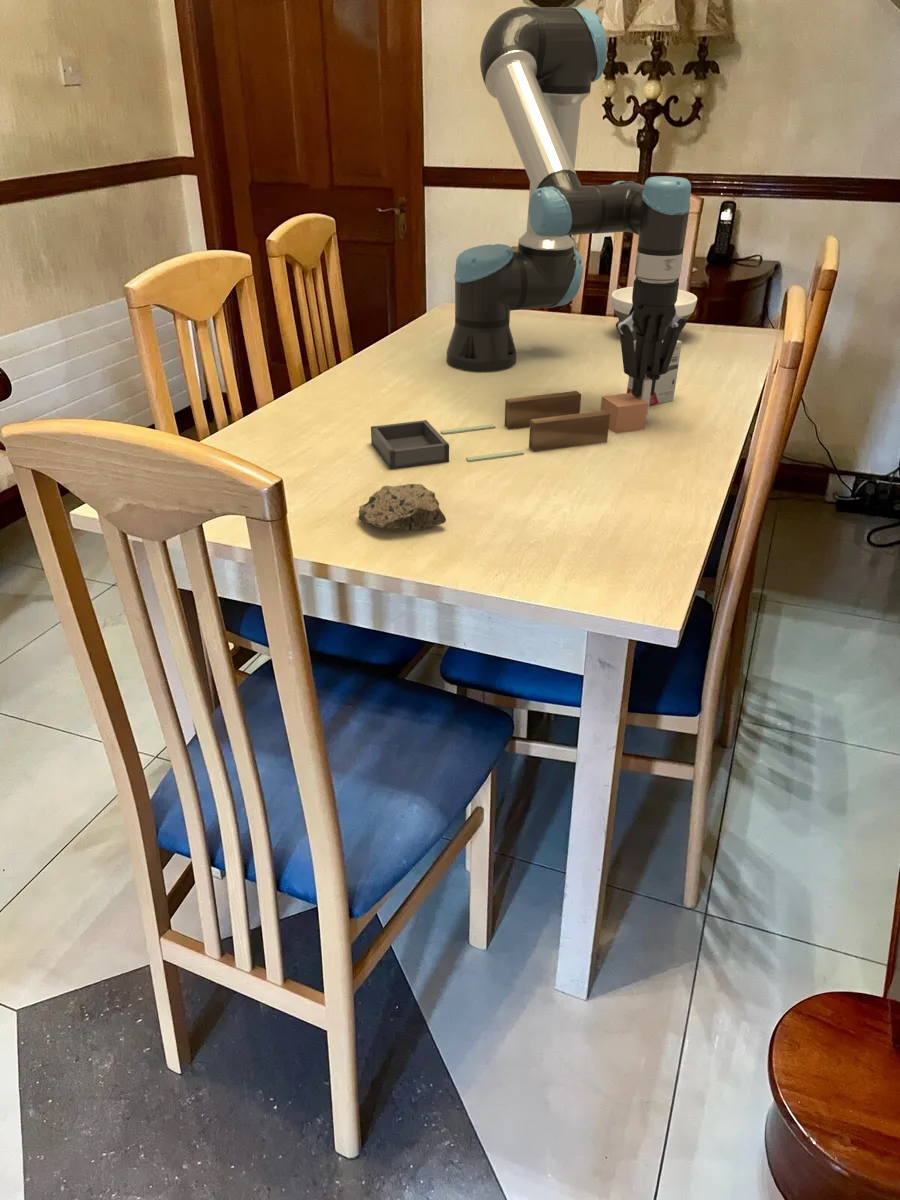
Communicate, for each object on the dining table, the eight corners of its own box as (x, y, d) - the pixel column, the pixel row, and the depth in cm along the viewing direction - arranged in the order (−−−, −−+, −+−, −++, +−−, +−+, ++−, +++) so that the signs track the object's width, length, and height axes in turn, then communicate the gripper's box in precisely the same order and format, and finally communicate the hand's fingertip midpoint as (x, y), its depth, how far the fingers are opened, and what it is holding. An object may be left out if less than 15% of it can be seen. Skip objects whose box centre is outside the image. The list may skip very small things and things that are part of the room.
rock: (355, 508, 135) (353, 481, 133) (431, 501, 137) (431, 474, 135) (366, 541, 126) (365, 513, 123) (448, 533, 128) (448, 504, 126)
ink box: (642, 408, 172) (650, 346, 166) (624, 401, 176) (631, 340, 169) (674, 400, 176) (683, 339, 170) (656, 393, 180) (664, 333, 173)
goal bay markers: (440, 432, 161) (440, 430, 161) (492, 425, 164) (492, 424, 164) (468, 461, 149) (468, 460, 149) (524, 454, 152) (524, 452, 152)
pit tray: (371, 443, 156) (370, 426, 155) (426, 436, 159) (426, 420, 158) (390, 469, 147) (390, 452, 145) (449, 461, 149) (449, 444, 148)
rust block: (599, 422, 166) (601, 396, 163) (628, 419, 168) (631, 392, 165) (615, 434, 161) (618, 407, 158) (644, 430, 163) (648, 403, 160)
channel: (504, 425, 164) (505, 398, 161) (574, 416, 168) (576, 390, 165) (533, 451, 153) (535, 423, 151) (607, 441, 157) (610, 414, 155)
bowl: (699, 349, 206) (706, 306, 201) (613, 348, 206) (618, 305, 201) (682, 326, 223) (687, 286, 218) (602, 325, 223) (606, 285, 218)
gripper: (634, 286, 147) (618, 424, 160) (702, 280, 151) (682, 415, 164) (611, 276, 153) (598, 410, 166) (678, 271, 157) (660, 402, 170)
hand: (640, 412), depth 165 cm, fingers closed
